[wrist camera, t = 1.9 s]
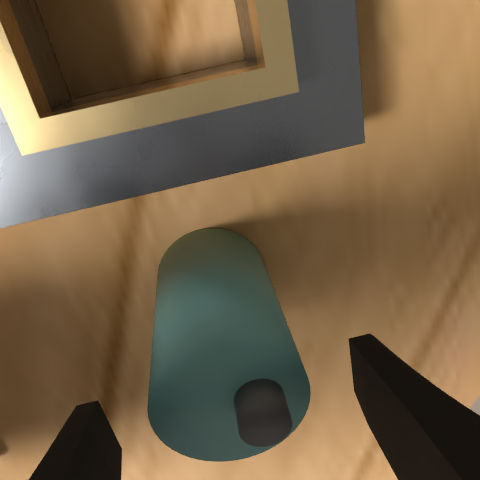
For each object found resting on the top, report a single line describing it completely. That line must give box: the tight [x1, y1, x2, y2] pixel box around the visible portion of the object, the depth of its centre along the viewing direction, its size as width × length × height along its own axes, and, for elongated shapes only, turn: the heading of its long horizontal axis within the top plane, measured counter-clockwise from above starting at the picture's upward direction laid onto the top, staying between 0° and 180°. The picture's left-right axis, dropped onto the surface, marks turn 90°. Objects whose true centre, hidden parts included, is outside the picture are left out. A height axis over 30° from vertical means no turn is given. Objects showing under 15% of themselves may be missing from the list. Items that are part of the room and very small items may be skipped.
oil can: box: [148, 228, 310, 461], centre depth 14 cm, size 4×4×8 cm
